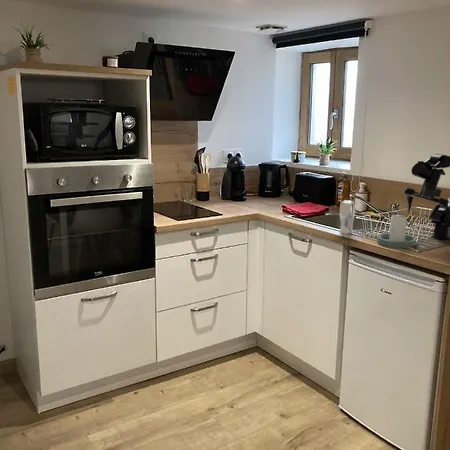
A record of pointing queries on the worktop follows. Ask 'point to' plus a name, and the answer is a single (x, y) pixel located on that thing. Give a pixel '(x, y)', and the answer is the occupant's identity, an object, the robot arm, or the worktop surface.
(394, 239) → the can
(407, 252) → the worktop surface
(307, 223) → the worktop surface
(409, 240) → the dish
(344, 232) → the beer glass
